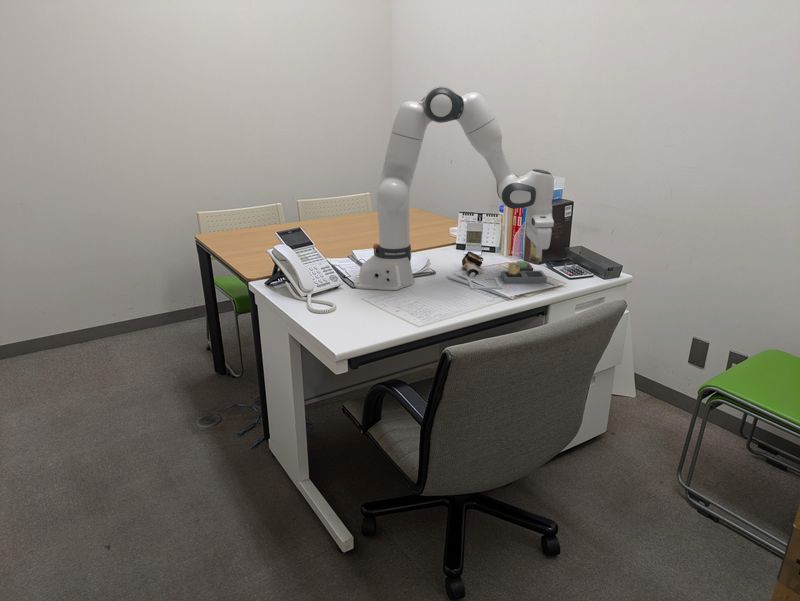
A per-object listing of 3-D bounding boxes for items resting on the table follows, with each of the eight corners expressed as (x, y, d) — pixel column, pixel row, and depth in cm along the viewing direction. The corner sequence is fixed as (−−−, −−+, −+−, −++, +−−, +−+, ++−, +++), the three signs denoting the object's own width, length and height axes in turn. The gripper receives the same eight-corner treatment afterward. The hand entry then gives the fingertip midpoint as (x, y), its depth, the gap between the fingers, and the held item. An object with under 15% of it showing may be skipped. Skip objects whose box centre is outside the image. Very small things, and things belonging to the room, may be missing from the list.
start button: (517, 274, 206) (517, 263, 204) (515, 270, 210) (515, 260, 208) (527, 273, 206) (528, 263, 204) (525, 270, 210) (526, 260, 208)
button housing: (513, 278, 205) (514, 268, 203) (510, 272, 211) (510, 262, 210) (532, 278, 205) (533, 268, 203) (528, 272, 211) (529, 262, 210)
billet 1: (508, 281, 198) (509, 265, 196) (506, 278, 202) (507, 262, 200) (519, 281, 198) (520, 265, 196) (517, 277, 202) (518, 262, 200)
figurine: (468, 267, 199) (466, 246, 211) (456, 283, 203) (455, 262, 216) (489, 277, 201) (485, 256, 214) (477, 293, 205) (474, 272, 218)
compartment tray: (503, 287, 197) (504, 278, 195) (499, 278, 205) (499, 270, 204) (548, 286, 197) (548, 277, 195) (541, 278, 205) (542, 270, 204)
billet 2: (531, 261, 196) (532, 245, 194) (528, 258, 200) (530, 242, 197) (542, 261, 196) (543, 245, 194) (539, 258, 200) (541, 242, 197)
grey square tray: (470, 292, 192) (470, 287, 191) (466, 282, 202) (467, 277, 201) (502, 292, 192) (502, 287, 191) (496, 281, 202) (496, 277, 201)
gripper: (523, 210, 202) (520, 247, 207) (536, 223, 183) (533, 263, 188) (540, 210, 202) (537, 246, 207) (555, 223, 183) (552, 262, 188)
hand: (535, 254), depth 197 cm, fingers closed on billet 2, 4 cm apart
